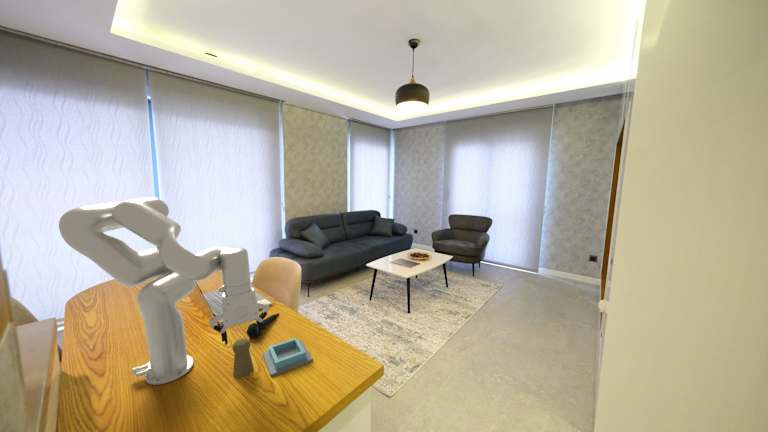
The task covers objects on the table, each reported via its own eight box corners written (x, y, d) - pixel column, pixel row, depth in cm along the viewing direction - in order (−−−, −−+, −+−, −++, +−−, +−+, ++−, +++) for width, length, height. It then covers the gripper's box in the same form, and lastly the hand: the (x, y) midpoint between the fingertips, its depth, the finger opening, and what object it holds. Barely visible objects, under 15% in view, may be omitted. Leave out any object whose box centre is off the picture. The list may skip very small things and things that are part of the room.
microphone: (274, 321, 128) (245, 341, 109) (271, 308, 128) (241, 327, 109) (285, 318, 127) (257, 339, 108) (282, 306, 127) (253, 325, 108)
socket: (270, 376, 90) (270, 367, 89) (262, 354, 101) (262, 346, 100) (312, 360, 98) (312, 352, 97) (301, 341, 108) (300, 334, 108)
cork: (228, 374, 91) (226, 344, 89) (244, 362, 96) (242, 333, 94) (242, 380, 88) (240, 348, 87) (257, 367, 94) (255, 338, 92)
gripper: (205, 299, 79) (212, 353, 82) (269, 284, 89) (273, 333, 92) (204, 290, 86) (211, 340, 89) (264, 277, 95) (268, 323, 98)
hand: (243, 337), depth 90 cm, fingers open, 9 cm apart
